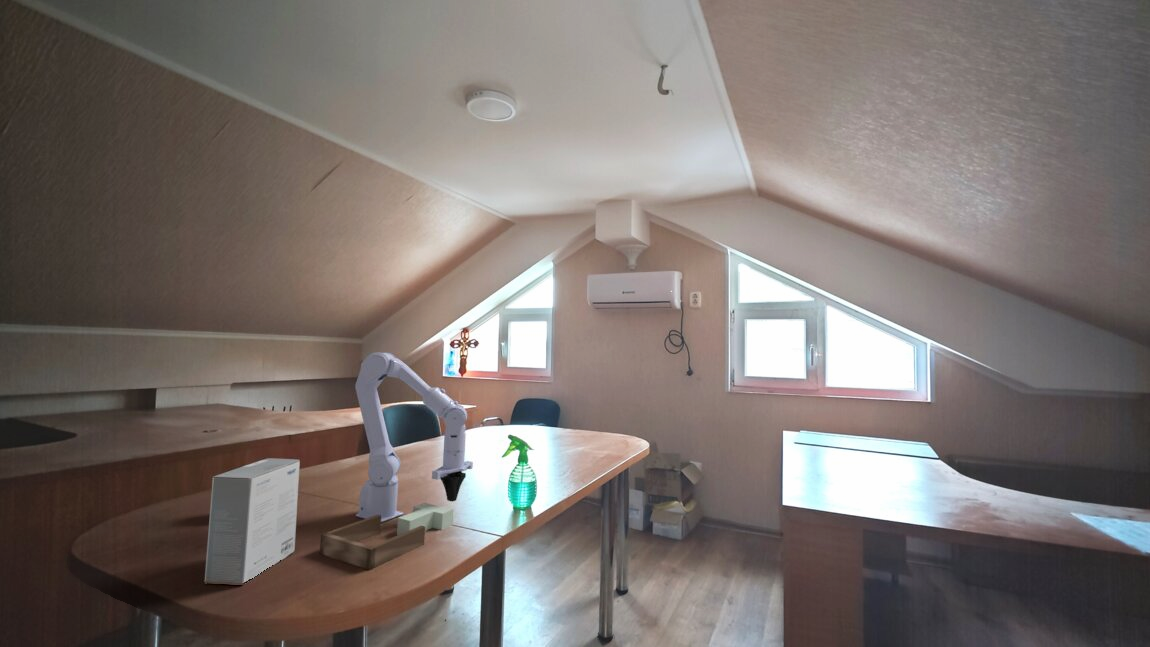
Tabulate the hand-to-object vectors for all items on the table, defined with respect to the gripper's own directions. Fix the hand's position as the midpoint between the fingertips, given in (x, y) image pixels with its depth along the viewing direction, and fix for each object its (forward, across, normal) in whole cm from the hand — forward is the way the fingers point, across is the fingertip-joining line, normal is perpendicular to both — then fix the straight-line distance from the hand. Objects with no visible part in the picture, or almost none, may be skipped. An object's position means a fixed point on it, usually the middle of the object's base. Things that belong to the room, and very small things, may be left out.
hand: (451, 500), depth 127 cm
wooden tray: (+4, -25, 0) cm, 25 cm away
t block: (+4, -11, 0) cm, 12 cm away
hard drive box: (+4, -44, +13) cm, 46 cm away
